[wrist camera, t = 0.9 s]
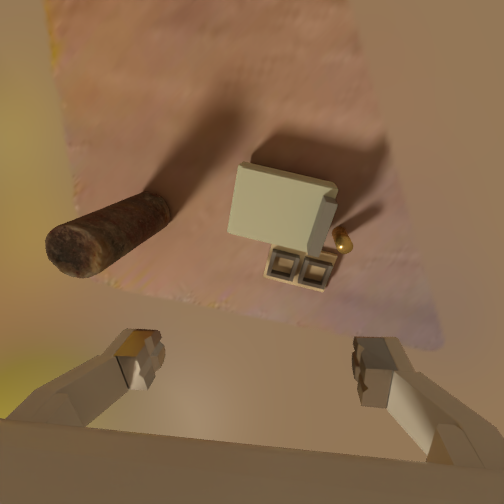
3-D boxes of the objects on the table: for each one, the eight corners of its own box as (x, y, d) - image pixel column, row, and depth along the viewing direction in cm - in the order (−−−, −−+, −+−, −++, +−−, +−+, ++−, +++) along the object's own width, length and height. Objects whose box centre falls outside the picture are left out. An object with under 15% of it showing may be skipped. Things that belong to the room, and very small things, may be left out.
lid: (243, 161, 42) (232, 169, 34) (333, 182, 41) (342, 195, 33) (232, 222, 46) (220, 241, 39) (313, 242, 46) (317, 265, 38)
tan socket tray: (272, 238, 48) (271, 243, 46) (336, 254, 47) (338, 260, 45) (263, 274, 52) (262, 281, 49) (322, 289, 51) (324, 296, 49)
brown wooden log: (129, 191, 48) (32, 229, 30) (166, 186, 47) (87, 224, 29) (142, 229, 51) (61, 285, 33) (176, 227, 50) (111, 283, 32)
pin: (334, 224, 45) (340, 238, 40) (348, 228, 45) (355, 241, 40) (329, 237, 46) (334, 251, 41) (343, 240, 46) (349, 255, 41)
